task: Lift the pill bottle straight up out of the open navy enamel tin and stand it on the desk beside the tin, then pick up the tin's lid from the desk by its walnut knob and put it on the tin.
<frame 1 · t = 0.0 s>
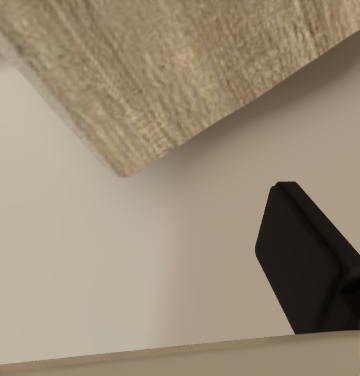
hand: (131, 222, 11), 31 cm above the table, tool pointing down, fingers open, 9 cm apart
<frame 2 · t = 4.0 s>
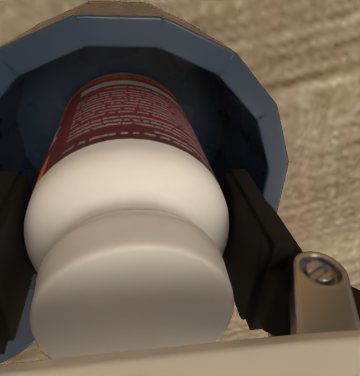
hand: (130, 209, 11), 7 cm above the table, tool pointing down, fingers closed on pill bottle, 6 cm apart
pill bottle: (126, 131, 17), resting on tin, touching gripper
tin: (126, 130, 17), on the table
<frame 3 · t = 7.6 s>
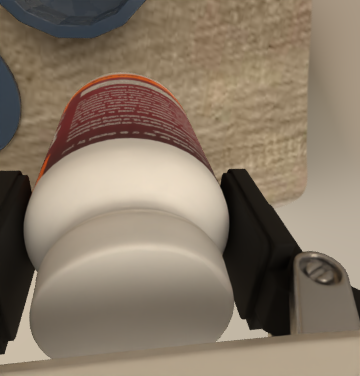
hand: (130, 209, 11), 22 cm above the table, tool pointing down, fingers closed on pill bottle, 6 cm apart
pill bottle: (126, 131, 17), point 15 cm above the table, touching gripper
when the fingers open (7 cm above the table, at t = 11.6 s): pill bottle stays where it is, on the table.
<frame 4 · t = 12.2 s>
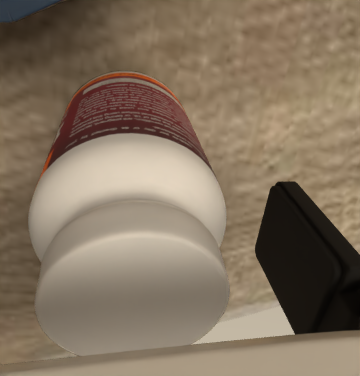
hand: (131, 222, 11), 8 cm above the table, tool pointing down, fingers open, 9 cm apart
pill bottle: (127, 128, 17), on the table
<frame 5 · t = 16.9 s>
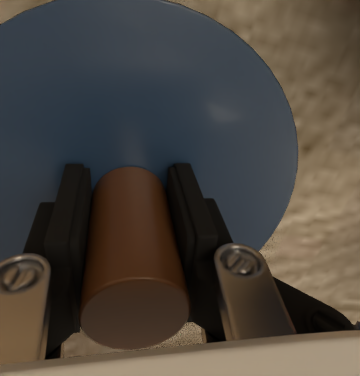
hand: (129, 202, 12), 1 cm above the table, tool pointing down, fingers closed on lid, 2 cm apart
lid: (129, 190, 12), point 1 cm above the table, touching gripper
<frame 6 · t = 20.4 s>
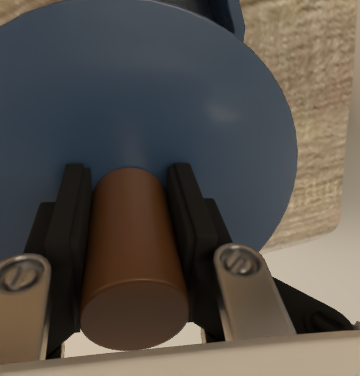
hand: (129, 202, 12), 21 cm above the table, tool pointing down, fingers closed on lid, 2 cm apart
lid: (129, 191, 12), point 20 cm above the table, touching gripper
tin: (154, 32, 28), on the table
when the fingers open (7 cm above the table, at t = 24.1 s): lid stays where it is, resting on tin.
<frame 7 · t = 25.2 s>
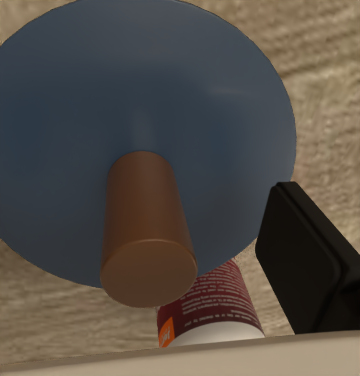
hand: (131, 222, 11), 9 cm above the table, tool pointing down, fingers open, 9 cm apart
pill bottle: (191, 258, 25), on the table
lid: (140, 173, 13), point 6 cm above the table, touching tin
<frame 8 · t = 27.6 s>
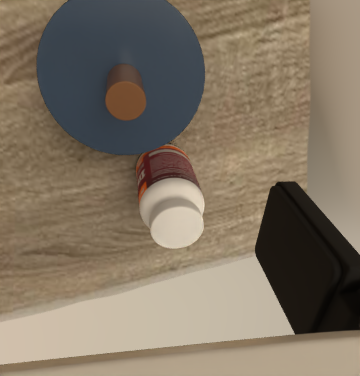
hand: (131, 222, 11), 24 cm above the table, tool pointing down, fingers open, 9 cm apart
pill bottle: (162, 166, 38), on the table
lid: (124, 79, 26), point 6 cm above the table, touching tin
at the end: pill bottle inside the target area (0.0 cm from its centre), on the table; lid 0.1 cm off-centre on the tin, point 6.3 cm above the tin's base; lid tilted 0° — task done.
